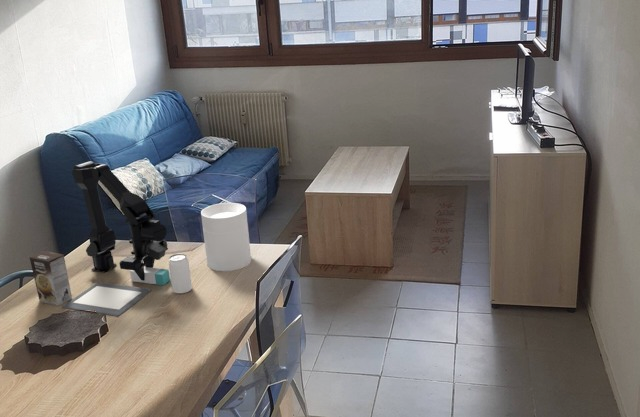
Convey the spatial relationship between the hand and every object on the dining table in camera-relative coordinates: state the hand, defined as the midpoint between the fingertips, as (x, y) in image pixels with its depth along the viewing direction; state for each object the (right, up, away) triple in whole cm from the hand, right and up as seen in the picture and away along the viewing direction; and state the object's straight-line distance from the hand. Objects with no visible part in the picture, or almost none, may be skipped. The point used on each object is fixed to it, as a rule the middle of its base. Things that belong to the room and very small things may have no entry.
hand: (146, 277), depth 221 cm
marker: (+2, -1, 0) cm, 2 cm away
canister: (+27, +4, +12) cm, 30 cm away
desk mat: (-10, -6, -11) cm, 16 cm away
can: (+14, -4, -8) cm, 16 cm away
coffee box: (-27, -7, -10) cm, 30 cm away
